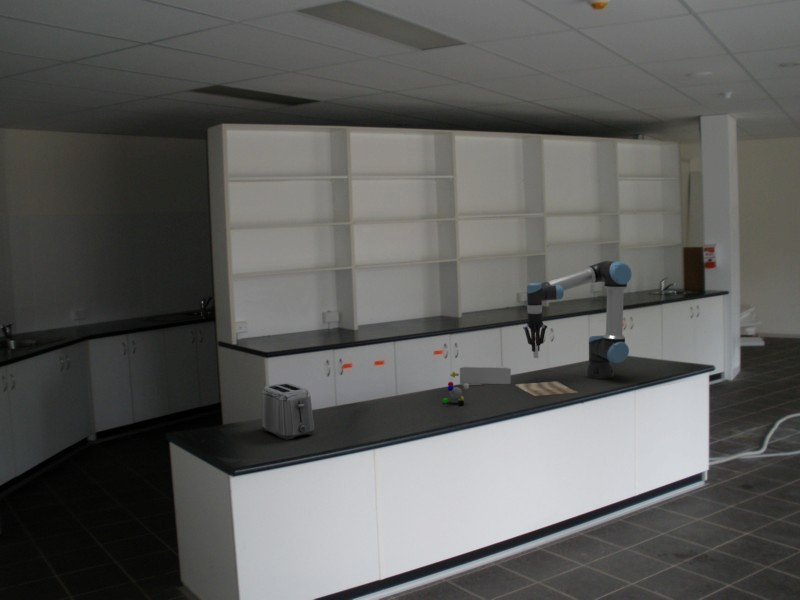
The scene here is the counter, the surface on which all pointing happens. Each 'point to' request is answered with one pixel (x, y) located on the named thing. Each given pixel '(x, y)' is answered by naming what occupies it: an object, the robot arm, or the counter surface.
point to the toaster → (287, 410)
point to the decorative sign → (484, 375)
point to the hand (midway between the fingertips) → (535, 357)
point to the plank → (541, 386)
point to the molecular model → (456, 393)
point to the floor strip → (552, 392)
